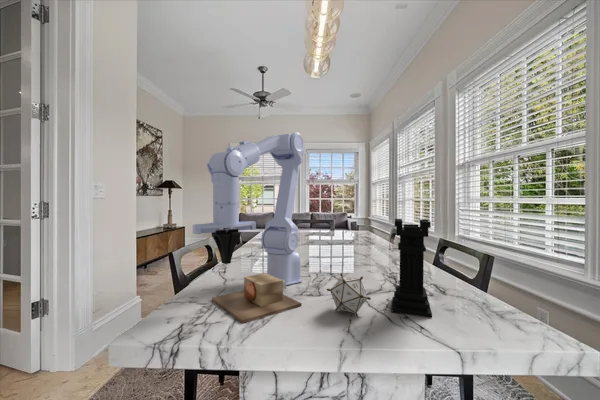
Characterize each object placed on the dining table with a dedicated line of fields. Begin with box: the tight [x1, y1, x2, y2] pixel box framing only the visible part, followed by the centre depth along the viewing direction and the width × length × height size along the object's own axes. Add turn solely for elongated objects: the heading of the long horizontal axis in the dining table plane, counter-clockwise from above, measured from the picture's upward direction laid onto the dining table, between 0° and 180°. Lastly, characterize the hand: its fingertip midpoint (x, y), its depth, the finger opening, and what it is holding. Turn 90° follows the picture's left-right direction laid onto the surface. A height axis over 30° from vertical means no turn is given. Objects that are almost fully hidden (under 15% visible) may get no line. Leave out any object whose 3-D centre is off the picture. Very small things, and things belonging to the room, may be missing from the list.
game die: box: [326, 272, 372, 318], centre depth 62 cm, size 9×8×10 cm
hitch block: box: [211, 272, 303, 324], centre depth 67 cm, size 15×16×5 cm
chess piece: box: [391, 218, 433, 319], centre depth 64 cm, size 8×8×20 cm
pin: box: [243, 279, 287, 301], centre depth 68 cm, size 10×4×4 cm, turn 128°
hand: (226, 262), depth 65 cm, fingers closed
